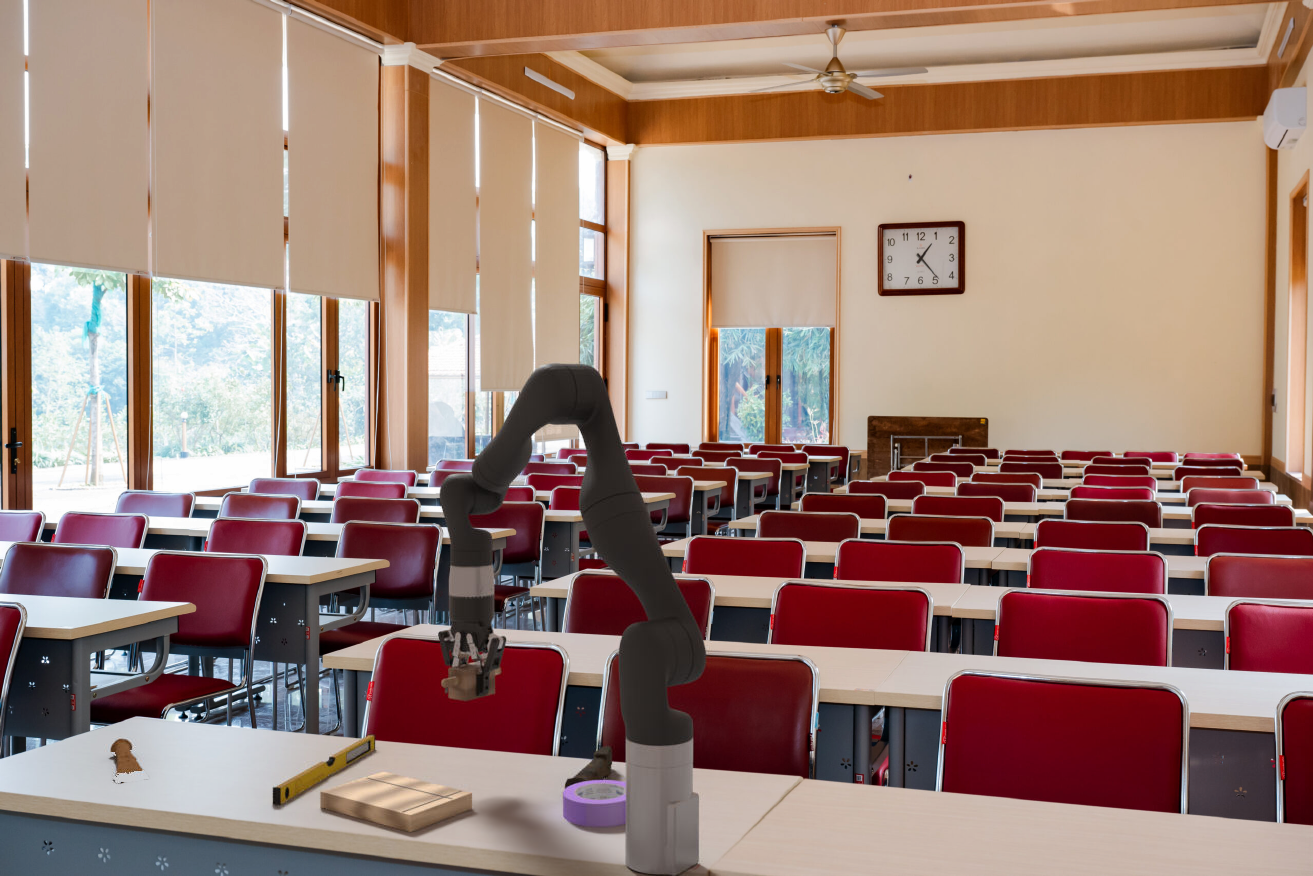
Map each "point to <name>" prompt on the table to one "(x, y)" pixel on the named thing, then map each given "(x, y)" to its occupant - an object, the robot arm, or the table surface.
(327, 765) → the spirit level
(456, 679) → the tan peg block
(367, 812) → the oak board
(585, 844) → the table surface
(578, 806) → the masking tape
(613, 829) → the table surface
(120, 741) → the primitive tool
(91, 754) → the table surface
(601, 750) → the hand tool
